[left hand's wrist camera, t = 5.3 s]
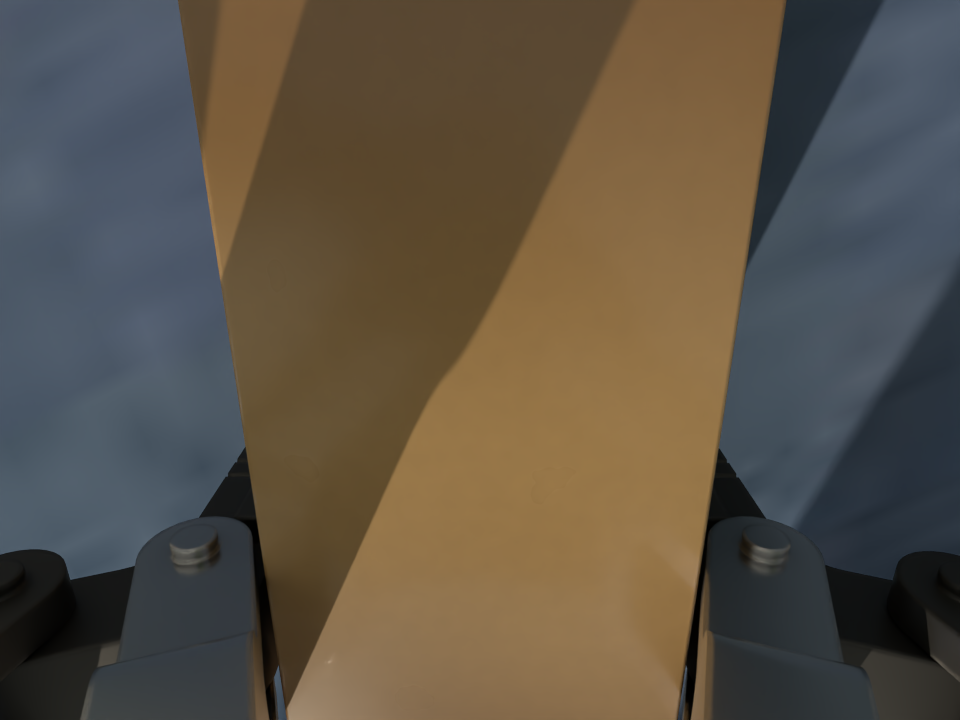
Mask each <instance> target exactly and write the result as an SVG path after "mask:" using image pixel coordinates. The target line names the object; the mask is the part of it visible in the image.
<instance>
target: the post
mask: <svg viewBox="0 0 960 720" xmlns="http://www.w3.org/2000/svg"><path fill="white" fill-rule="evenodd" d="M786 1H787V0H178V4H179V10H180V17H181V23H182V30H183V37H184V43H185V50H186V56H187V63H188V70H189V76H190V83H191V89H192V96H193V103H194V109H195V116H196V122H197V129H198V136H199V142H200V149H201V155H202V162H203V169H204V175H205V182H206V188H207V195H208V202H209V208H210V215H211V221H212V228H213V235H214V241H215V248H216V254H217V261H218V268H219V274H220V281H221V287H222V294H223V301H224V307H225V314H226V320H227V327H228V334H229V340H230V347H231V353H232V360H233V367H234V373H235V380H236V386H237V393H238V399H239V406H240V413H241V419H242V426H243V432H244V439H245V446H246V452H247V459H248V465H249V472H250V479H251V485H252V492H253V498H254V505H255V512H256V518H257V525H258V531H259V538H260V545H261V551H262V558H263V564H264V571H265V578H266V584H267V591H268V597H269V604H270V611H271V617H272V624H273V630H274V637H275V644H276V650H277V657H278V663H279V670H280V677H281V683H282V690H283V696H284V703H285V710H286V716H287V720H678V713H679V706H680V700H681V693H682V687H683V680H684V673H685V667H686V660H687V654H688V647H689V640H690V634H691V627H692V621H693V614H694V607H695V601H696V594H697V588H698V581H699V574H700V568H701V561H702V555H703V548H704V541H705V535H706V528H707V522H708V515H709V508H710V502H711V495H712V489H713V482H714V475H715V469H716V462H717V456H718V449H719V443H720V436H721V429H722V423H723V416H724V410H725V403H726V396H727V390H728V383H729V377H730V370H731V363H732V357H733V350H734V344H735V337H736V330H737V324H738V317H739V311H740V304H741V297H742V291H743V284H744V278H745V271H746V264H747V258H748V251H749V245H750V238H751V231H752V225H753V218H754V212H755V205H756V198H757V192H758V185H759V179H760V172H761V166H762V159H763V152H764V146H765V139H766V133H767V126H768V119H769V113H770V106H771V100H772V93H773V86H774V80H775V73H776V67H777V60H778V53H779V47H780V40H781V34H782V27H783V20H784V14H785V7H786Z"/></svg>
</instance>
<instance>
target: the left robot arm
mask: <svg viewBox="0 0 960 720" xmlns="http://www.w3.org/2000/svg"><path fill="white" fill-rule="evenodd" d="M278 665H279V663H278V657H277V650H276V644H275V637H274V630H273V624H272V617H271V611H270V604H269V597H268V591H267V584H266V578H265V571H264V564H263V558H262V551H261V545H260V538H259V531H258V525H257V518H256V512H255V505H254V498H253V492H252V485H251V479H250V472H249V465H248V459H247V452H246V447H245V448H244V450H243V451H242V453H241V454H240V456H239V457H238V461H237V462H235V464H234V465H233V467H232V468H231V470H230V471H229V473H228V477H225V479H224V480H223V482H222V483H221V485H220V486H219V488H218V489H217V491H216V492H215V494H214V495H213V497H212V499H211V500H210V502H209V503H208V505H207V506H206V508H205V509H204V511H203V512H202V514H201V515H200V517H199V518H196V519H191V520H187V521H184V522H181V523H178V524H176V525H173V526H171V527H169V528H167V529H165V530H163V531H161V532H160V533H158V534H157V535H155V536H154V537H153V538H151V539H150V540H149V541H148V542H147V543H146V544H145V545H144V546H143V547H142V549H141V550H140V552H139V554H138V556H137V559H136V563H135V566H133V567H129V568H125V569H121V570H117V571H112V572H107V573H102V574H97V575H92V576H88V577H83V578H78V579H73V580H70V577H69V574H68V570H67V567H66V564H65V561H64V559H63V558H62V557H61V556H60V555H58V554H56V553H54V552H51V551H47V550H39V549H29V550H20V551H14V552H9V553H5V554H2V555H0V720H278V707H277V695H276V687H275V681H274V676H275V673H276V671H277V668H278ZM686 666H687V674H686V681H685V687H684V695H683V707H682V720H960V556H958V555H954V554H949V553H944V552H934V551H922V552H915V553H911V554H908V555H906V556H904V557H903V558H902V559H901V560H900V561H899V562H898V565H897V567H896V571H895V574H894V578H893V581H892V580H887V579H882V578H878V577H873V576H868V575H863V574H858V573H853V572H848V571H844V570H840V569H836V568H832V567H829V566H826V565H825V563H824V559H823V556H822V554H821V552H820V550H819V549H818V547H817V546H816V545H815V544H814V543H813V542H812V541H811V540H810V539H809V538H807V537H806V536H805V535H803V534H802V533H800V532H799V531H797V530H795V529H793V528H791V527H789V526H787V525H784V524H782V523H779V522H776V521H773V520H769V519H766V518H765V516H764V515H763V513H762V512H761V510H760V509H759V507H758V506H757V504H756V503H755V501H754V500H753V498H752V497H751V495H750V494H749V492H748V491H747V489H746V488H745V486H744V485H743V483H742V482H741V480H740V479H739V478H736V473H735V471H734V470H733V468H732V467H731V465H730V464H729V463H727V459H726V458H725V456H724V455H723V453H722V452H721V450H720V449H718V456H717V462H716V469H715V475H714V482H713V489H712V495H711V502H710V508H709V515H708V522H707V528H706V535H705V541H704V548H703V555H702V561H701V568H700V574H699V581H698V588H697V594H696V601H695V607H694V614H693V621H692V627H691V634H690V640H689V647H688V654H687V660H686Z"/></svg>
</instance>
